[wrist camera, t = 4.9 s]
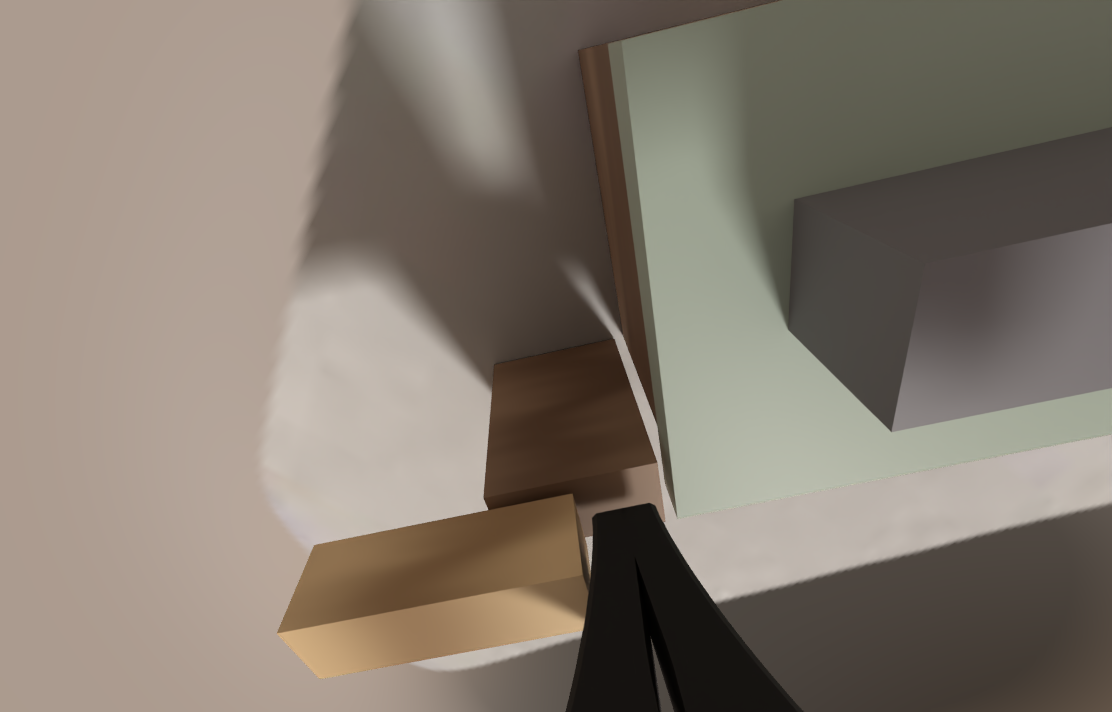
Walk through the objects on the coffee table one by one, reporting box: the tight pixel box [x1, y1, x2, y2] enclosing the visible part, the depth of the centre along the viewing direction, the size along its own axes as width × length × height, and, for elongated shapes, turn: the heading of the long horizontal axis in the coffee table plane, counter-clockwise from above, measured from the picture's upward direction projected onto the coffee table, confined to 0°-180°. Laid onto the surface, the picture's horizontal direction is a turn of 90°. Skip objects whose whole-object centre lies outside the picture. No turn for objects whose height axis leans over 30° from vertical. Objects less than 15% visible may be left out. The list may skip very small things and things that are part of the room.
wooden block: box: [277, 493, 591, 679], centre depth 10 cm, size 6×2×2 cm, turn 102°
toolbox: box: [484, 0, 782, 537], centre depth 11 cm, size 18×10×6 cm, turn 102°
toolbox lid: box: [608, 0, 1112, 519], centre depth 9 cm, size 14×10×5 cm
